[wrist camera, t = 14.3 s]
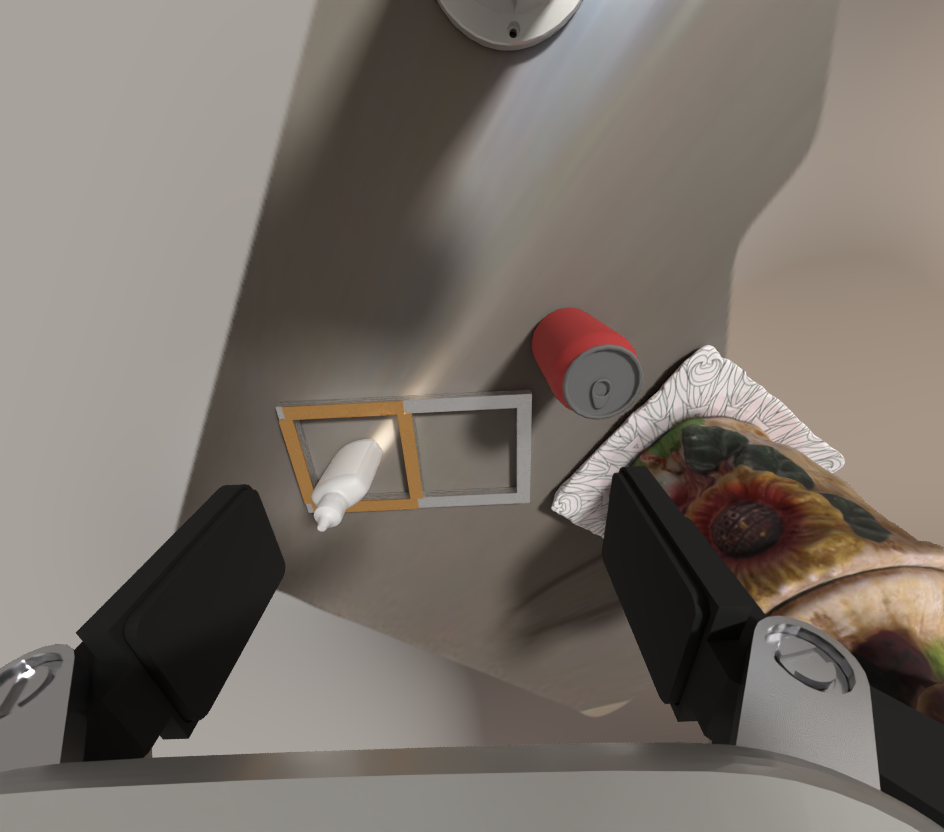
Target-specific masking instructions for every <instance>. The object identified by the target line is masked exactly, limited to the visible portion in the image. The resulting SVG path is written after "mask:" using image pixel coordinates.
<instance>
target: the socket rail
mask: <svg viewBox="0 0 944 832" xmlns="http://www.w3.org/2000/svg"><path fill="white" fill-rule="evenodd" d="M275 408H276V411H277V414H278V417H279V424H280V427H281V430H282V433H283V437H284V440H285V443H286V446H287V449H288V452H289V455H290V459H291V462H292V465H293V468H294V471H295V474H296V478H297V481H298V484H299V487H300V490H301V493H302V496H303V500H304V503H305V504H306V506H307V509H308V512H309V513H314V511H315V509H316V508H317V506H316V505H315V504H314V502H313V501H312V498H311V496H312V492H313V490H314V489H315V487H316V485H317V484H318V481H317V477H316V474H315V471H314V467H313V464H312V460H311V457H310V453H309V450H308V446H307V443H306V439H305V436H304V432H303V429H302V425H301V422H300V420H302V419H322V418H342V417H362V416H382V415H397V416H398V423H399V429H400V435H401V442H402V448H403V454H404V461H405V467H406V473H407V480H408V486H409V492H395V493H373V494H366V495H365V496H364V497H363V498H362V499H361V500H360V501H359V502H357V503H356V504H355V505H353V506H351V507H350V508H348V509H346V511H345V512H362V511H384V510H406V509H418V508H426V507H448V506H470V505H492V504H514V503H530V465H531V415H532V393H531V390H510V391H490V392H471V393H451V394H431V395H412V396H392V397H373V398H353V399H333V400H314V401H294V402H280V403H279V404H278V405H277V406H276V407H275ZM506 408H516V487H503V488H481V489H460V490H438V491H425V490H424V483H423V475H422V468H421V461H420V453H419V446H418V438H417V431H416V424H415V416H414V413H426V412H446V411H466V410H486V409H506Z"/></svg>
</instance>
